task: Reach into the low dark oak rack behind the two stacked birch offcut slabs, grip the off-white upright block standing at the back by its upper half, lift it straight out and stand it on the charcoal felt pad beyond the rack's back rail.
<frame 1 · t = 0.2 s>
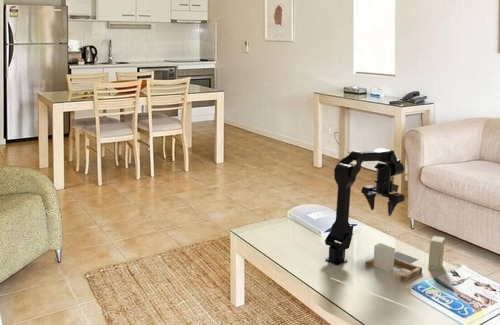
hand: (381, 212, 219), 14 cm above the table, tool pointing down, fingers open, 9 cm apart
offcut slab upper: (403, 275, 193), resting on offcut slab lower
rack: (393, 270, 197), on the table
off-white upright block: (383, 268, 200), on the table
skincare box: (434, 268, 200), on the table
offcut slab lower: (402, 277, 193), on the table, touching offcut slab upper
felt pad: (402, 259, 208), on the table
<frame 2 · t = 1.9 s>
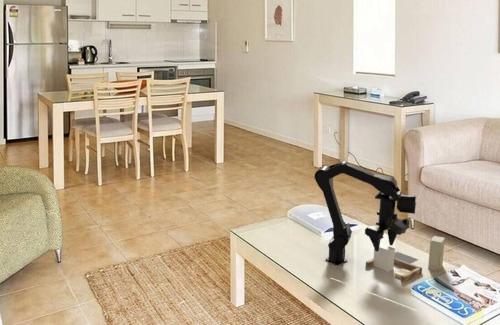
hand: (384, 248, 198), 8 cm above the table, tool pointing down, fingers open, 9 cm apart
nothing on the table moved.
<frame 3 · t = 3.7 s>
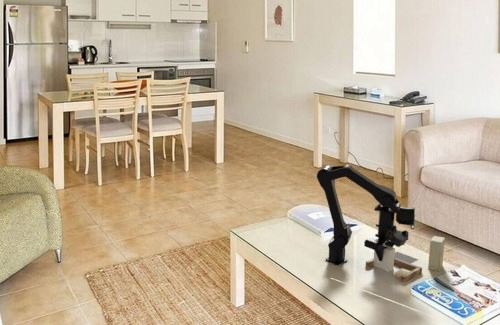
hand: (383, 259, 199), 4 cm above the table, tool pointing down, fingers closed on off-white upright block, 3 cm apart
off-white upright block: (383, 268, 200), on the table, touching gripper
everything else where it was.
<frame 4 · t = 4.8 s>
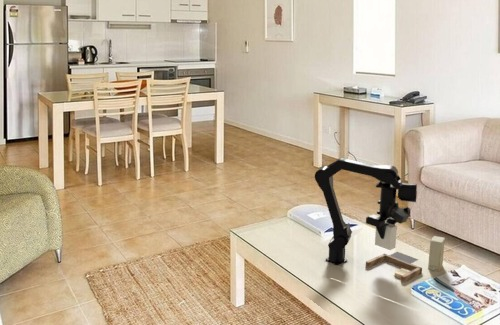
hand: (385, 237, 197), 13 cm above the table, tool pointing down, fingers closed on off-white upright block, 3 cm apart
off-white upright block: (385, 246, 197), point 9 cm above the table, touching gripper
everything else where it was.
when the fingers open (5 cm above the table, at t = 7.9 s): off-white upright block drops 1 cm, resting on felt pad.
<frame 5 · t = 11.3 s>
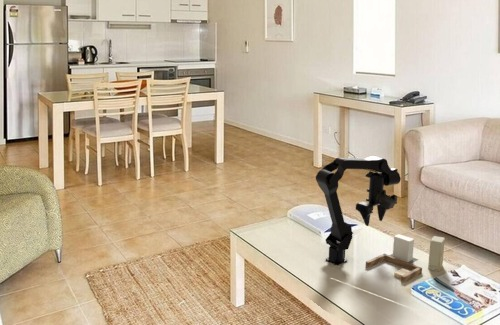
hand: (373, 223, 211), 13 cm above the table, tool pointing down, fingers open, 9 cm apart
off-white upright block: (402, 258, 208), resting on felt pad
everything else where it was.
at the end: off-white upright block inside the target area (0.2 cm from its centre), resting on felt pad; off-white upright block tilted 0°; the gripper is holding nothing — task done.
